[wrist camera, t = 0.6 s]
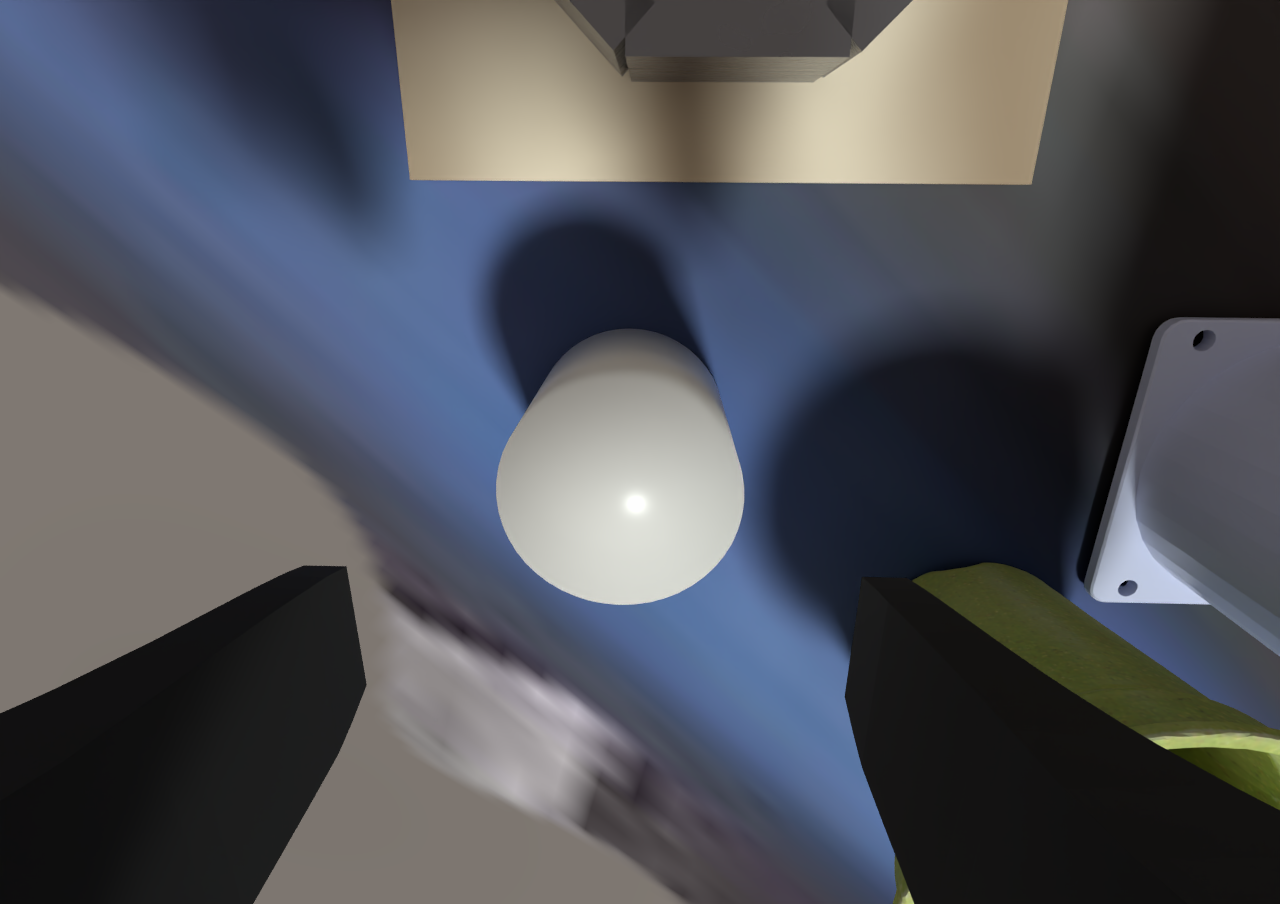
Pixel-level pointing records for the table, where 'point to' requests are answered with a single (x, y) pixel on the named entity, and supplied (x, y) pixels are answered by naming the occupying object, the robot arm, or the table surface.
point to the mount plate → (725, 102)
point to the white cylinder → (622, 471)
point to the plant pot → (1109, 678)
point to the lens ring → (730, 36)
